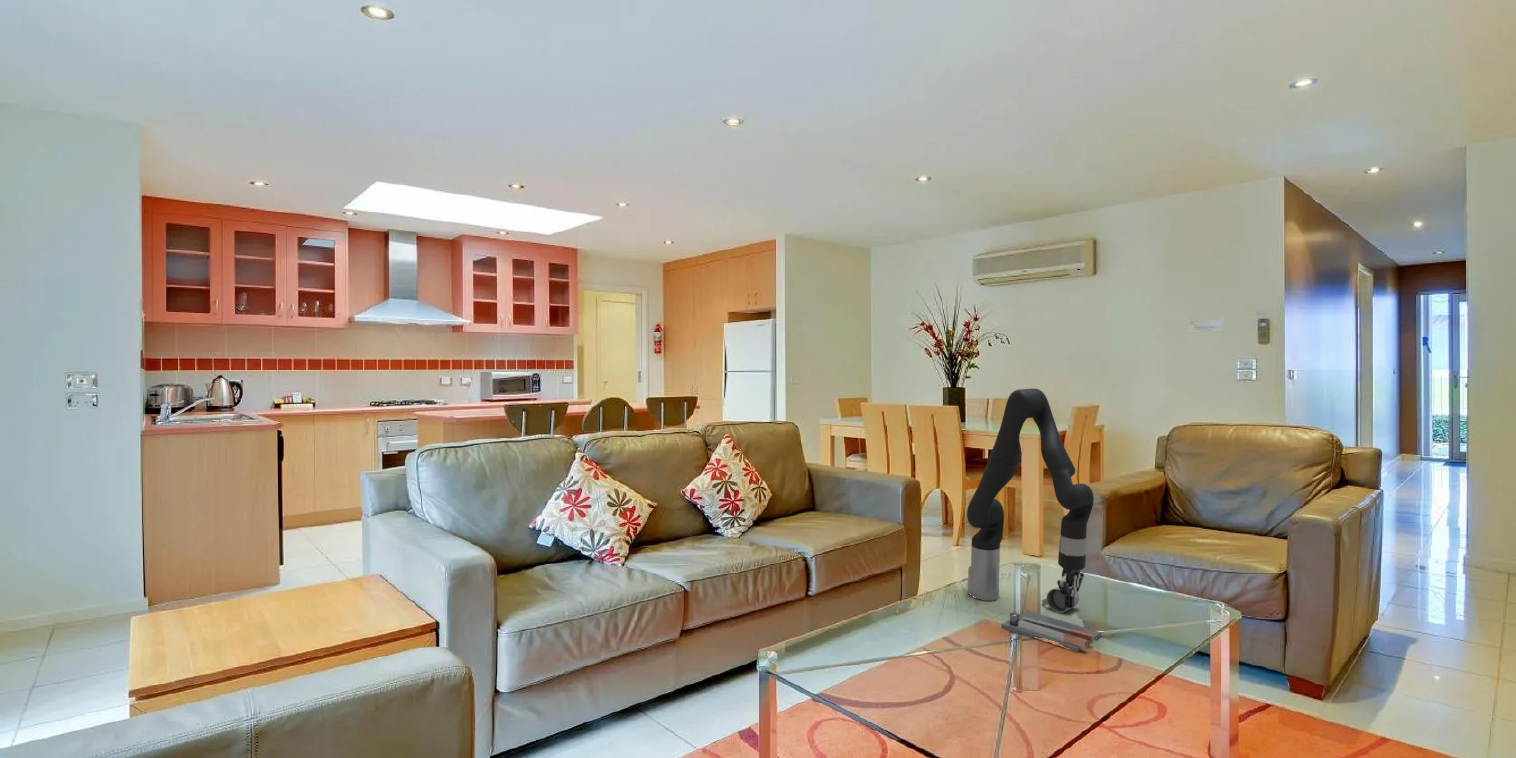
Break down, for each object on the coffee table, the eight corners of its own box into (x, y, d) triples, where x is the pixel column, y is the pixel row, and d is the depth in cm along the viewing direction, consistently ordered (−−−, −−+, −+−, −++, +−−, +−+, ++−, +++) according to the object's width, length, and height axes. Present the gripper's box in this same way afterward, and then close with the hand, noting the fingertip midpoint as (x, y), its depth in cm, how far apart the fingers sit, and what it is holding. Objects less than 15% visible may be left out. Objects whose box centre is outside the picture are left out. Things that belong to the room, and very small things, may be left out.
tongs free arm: (1021, 625, 223) (1022, 618, 223) (1024, 623, 225) (1024, 616, 225) (1091, 643, 210) (1091, 636, 210) (1093, 641, 212) (1093, 634, 212)
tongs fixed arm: (1006, 624, 224) (1007, 614, 224) (1012, 621, 227) (1012, 611, 227) (1084, 649, 207) (1085, 638, 207) (1090, 645, 209) (1090, 635, 209)
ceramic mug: (1080, 609, 239) (1080, 586, 239) (1068, 616, 234) (1068, 592, 234) (1049, 600, 247) (1049, 578, 247) (1036, 607, 242) (1037, 584, 242)
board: (1001, 628, 225) (1001, 624, 225) (1027, 614, 235) (1027, 610, 235) (1077, 652, 208) (1077, 648, 208) (1101, 636, 219) (1101, 632, 219)
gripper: (1070, 543, 227) (1067, 597, 229) (1049, 552, 218) (1046, 609, 220) (1094, 549, 221) (1091, 605, 223) (1074, 558, 212) (1071, 617, 214)
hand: (1069, 607), depth 221 cm, fingers closed
